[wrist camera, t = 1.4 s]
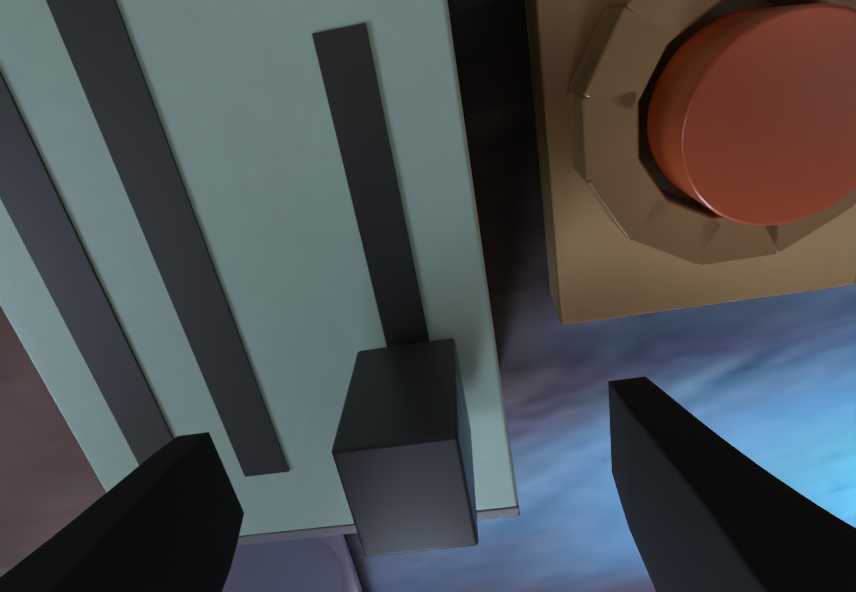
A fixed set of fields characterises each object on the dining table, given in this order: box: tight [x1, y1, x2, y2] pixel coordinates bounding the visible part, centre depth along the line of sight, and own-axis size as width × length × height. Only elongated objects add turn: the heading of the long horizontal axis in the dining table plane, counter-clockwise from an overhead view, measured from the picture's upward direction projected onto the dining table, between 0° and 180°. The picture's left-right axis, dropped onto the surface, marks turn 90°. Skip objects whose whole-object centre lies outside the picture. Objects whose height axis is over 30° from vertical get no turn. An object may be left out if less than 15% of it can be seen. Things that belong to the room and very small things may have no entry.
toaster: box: [0, 0, 520, 546], centre depth 13 cm, size 17×10×6 cm, turn 10°
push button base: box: [525, 0, 856, 325], centre depth 13 cm, size 11×8×4 cm
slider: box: [332, 338, 478, 556], centre depth 10 cm, size 2×2×3 cm
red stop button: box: [647, 3, 856, 226], centre depth 11 cm, size 4×4×2 cm
